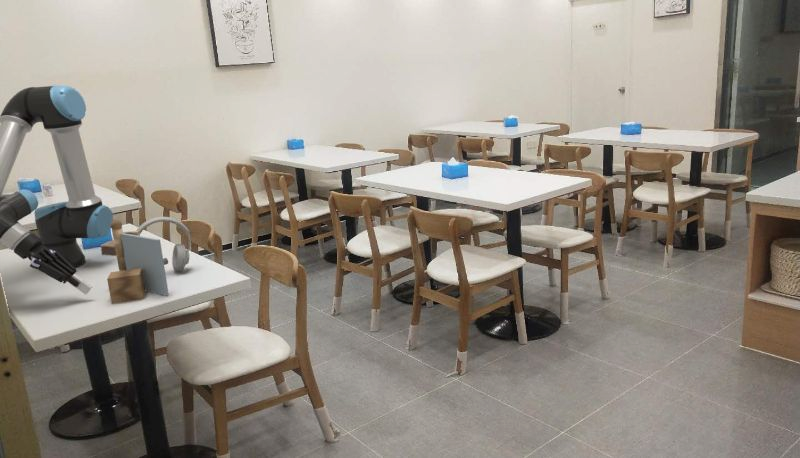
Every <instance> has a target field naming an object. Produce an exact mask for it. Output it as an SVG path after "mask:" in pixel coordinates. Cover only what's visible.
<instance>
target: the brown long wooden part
mask: <svg viewBox="0 0 800 458" xmlns="http://www.w3.org/2000/svg"><path fill="white" fill-rule="evenodd" d="M110 226H111V232H112V238H113V239H112V240H114V244H115V250H116V255H115V256H116V261H117V266H118V271H123V270H127V269H126V263H125V257H124V252H123V248H122V243H121V235H120V234H122V233H125V234H131V235H137V236H141V234H139V231H136V230H134V231H132V230H131V231H124V230H123V223H122V221H120V220H119V219H115V220H114V219H113V221H112V222H111V225H110Z"/></svg>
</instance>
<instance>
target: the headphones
mask: <svg viewBox="0 0 800 458" xmlns="http://www.w3.org/2000/svg"><path fill="white" fill-rule="evenodd" d="M161 222H167V223H171V224H173V225H175V226H177V227H179V228H180V229H181V230H182V231H183V232H184V233H185V235H186V237H187V241H188V245H187V247H188V248H186V245H185V244H184V243H183V244H181V243H179V244H178V243H175V245H174V246H173V250H172V257H171V258H172V259H171V260H172V261H171V262H172V263H171V264H172V269H173V271H180V272H183V270H184V269H185V267H186V265H188V264H189V263H190V252H189V251H190V249H191V246H192V242H191V241H192V240H191V234H190V230H189V228H188V227H187V226H186V225H185V224H184V223H182V222H181V221H180V220H178V219H176V218H173V217H169V216H156V217H152V218H149V219H148V220H146V221H144V222H143V223H141V224H140V225H139V227H138V228H136V230H135V231H139V234H140V235H141V233H142V232H143V231H144V230H145V229H146V228H147V227H149V226H151V225H153V224H157V223H161Z"/></svg>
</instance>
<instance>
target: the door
mask: <svg viewBox="0 0 800 458" xmlns="http://www.w3.org/2000/svg"><path fill="white" fill-rule="evenodd" d="M120 235H121V243H122V248H123V252H124V257H125V263H126V269H127V270H131V269H139V268H142V271H143V277H144V283H145V289H146V292H147V291H148V292H151V293H155V294H160V295H164V296H168V295H169V288H168V282H167V276H166V269H165V266H166V265H168V264H169V260H168V258H167V257H163V256H164V255H163V250H162V249H163V248H162V244H161V239H160V238H154V237H148V236H141V235H140V236H137V235H131V234H125V233H122V234H120Z"/></svg>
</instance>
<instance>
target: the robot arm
mask: <svg viewBox="0 0 800 458" xmlns="http://www.w3.org/2000/svg"><path fill="white" fill-rule="evenodd" d="M84 99H85V98H83V96H82V95H81V93H80V92H79V91H78V90H76V88H74V87H72V86H68V85H46V86H37V87H36V86H32V87H30V86H29V87H26V88H23V89H22V90H19V91H18V92H16V93H15V94H14V95H13V96H12V97H11V98H10V99H9V101H8V102H6V105H5V106H4V108H3V110H2V111H1V113H0V243H1V244H2V245H4V247H6V248H8V249H9V250H10V251H13V253H14V254H15V255H17V256H18V257H20V258H21V259H23V260H25V259H28V260H29V261H31V263H30V264H29V267H30V268H32V269H35V270H38V271H40V272H41V273H43V274H45V275H47V276H49V277H50V278H52V279H54V280H56V281H57V282H59V283H62V284H66V283H67V282H68V283H69V284H70V285H71V286H73V287H74V288H76V289H77V290H79V292H80V293H83V295H87V294H89V292H90V291H91V289H92V288H93V285H91V284H90V283H89V282H87V281H86V280H85V279H83V278H81V277H80V276H79V275H78V274H76V272H77V271H78V269H77V267H80V266H81V265H84V264H85V263H86V262H87V260H86V256H85V253H84V252H83V251H82V248H81V247H80V245H79V244H78V241H77V240H78V239H89V240H90V239H91V240H93V239H100V238H104V237H105V236H107V235H108V234H109V233H110V231H111V230H112V228H111V226H110V225H111V222H112V221H114V215H113V212H112V210H111V208H110V207H109V206H107V205H105V204H103V201H102V198H101V197H100V196H98V195H96V193H95V188H94V185H93V181H92V176H91V171H90V168H89V166H88V165H89V164H88V161H87V158H86V153H85V150H84V146H83V142H82V138H81V134H80V130H79V129H80V128H81V126H82V125H83V122H82V119H84V118H85V117H86V111H87V105H86V102H85V100H84ZM37 123H42V125H43V129H44V130H45V131H47V132H49V133H50V135H51V139H52V142H53V147H54V151H55V154H56V156H57V157H56V158H57V161H58V166H59V169H60V172H61V176H62V179H63V182H64V187H65V190H66V194H67V198H68V201H62V202H57V203H56V202H55V203H51V204H47V205H43V206H40V207H38V206H39V200H38V198H37V196H36V194H35V193H33V192H32V190H28V189H24V188H23V189H19V190H16V191H14V193H11V194H3V193H4V190H5V187H6V185H7V182H8V180H9V177H10V175H11V172H12V169H13V167H14V164H15V163H16V160H17V157H18V155H19V152H20V150H21V147H22V145H23V142H24V140H25V138H26V135H27V134H28V133H30V132H31V131H32V129H33V127H34V125H36V124H37ZM33 212H34V222H35V225H36V231H37V234H38V235H36V234H35V233H31V230H30V229H28V227H26V226H25V225H23V224H21V223H20V222H19V221H20V220H22V219H23V218H25V217H27V216H29V215H31V214H32V213H33Z"/></svg>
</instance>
